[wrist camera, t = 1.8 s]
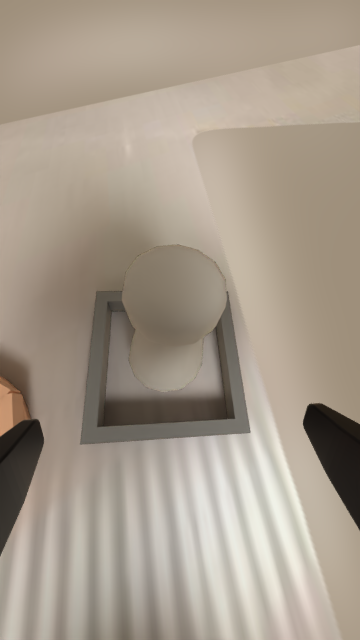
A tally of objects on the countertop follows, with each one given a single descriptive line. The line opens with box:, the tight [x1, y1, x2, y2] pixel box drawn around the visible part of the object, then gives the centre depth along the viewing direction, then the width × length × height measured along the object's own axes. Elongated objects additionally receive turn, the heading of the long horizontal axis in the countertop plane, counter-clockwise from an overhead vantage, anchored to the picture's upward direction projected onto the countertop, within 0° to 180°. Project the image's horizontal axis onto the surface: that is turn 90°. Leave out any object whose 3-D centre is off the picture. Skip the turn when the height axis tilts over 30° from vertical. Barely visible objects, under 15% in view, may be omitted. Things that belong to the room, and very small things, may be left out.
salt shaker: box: [122, 245, 227, 392], centre depth 14 cm, size 6×6×13 cm
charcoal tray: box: [80, 291, 250, 444], centre depth 19 cm, size 12×12×2 cm
